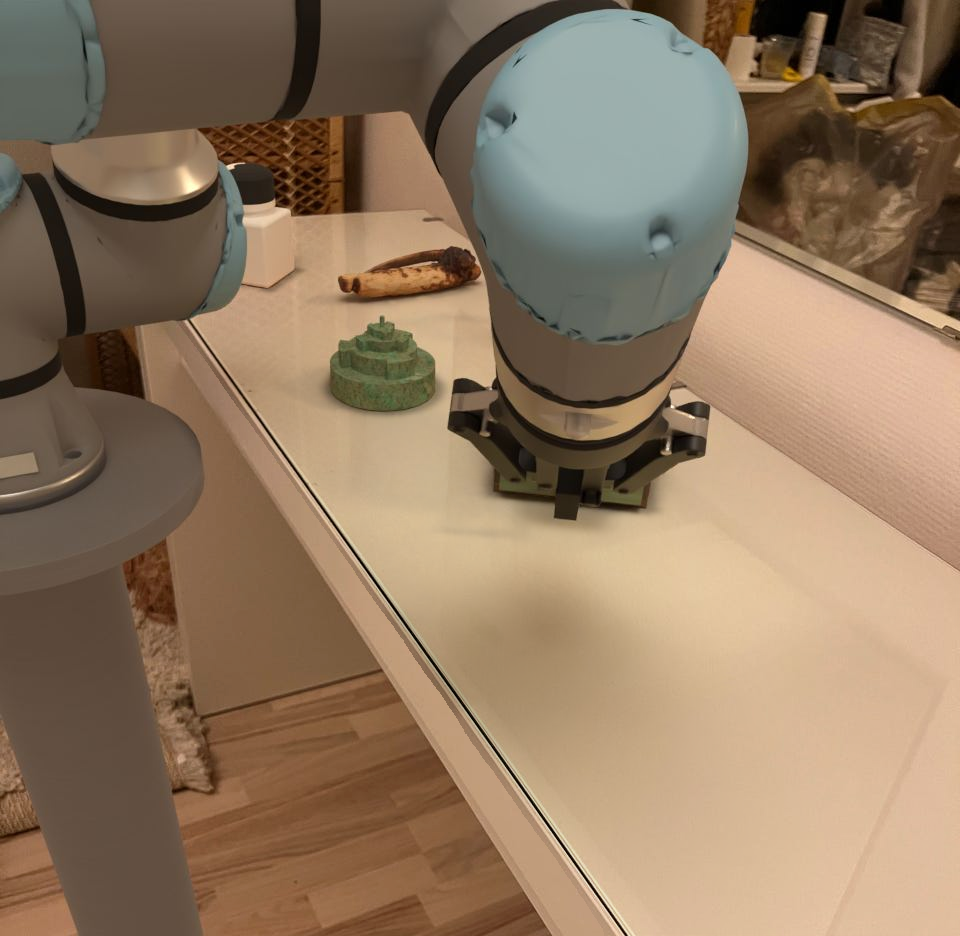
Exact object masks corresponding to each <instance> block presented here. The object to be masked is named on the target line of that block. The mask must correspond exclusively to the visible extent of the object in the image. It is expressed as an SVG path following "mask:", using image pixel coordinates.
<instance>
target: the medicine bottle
mask: <svg viewBox="0 0 960 936" xmlns="http://www.w3.org/2000/svg"><path fill="white" fill-rule="evenodd" d="M225 166H226V167H227V168H228V170H229V171H230V173H231V174H232V176H233V178H234V180H235V182H236V184H237V187H238V190H239V192H240V196H241V199H242V204H243V209H244V216H243V221H242V223H243V225H244V227H245V228H246V231H247V258H246V267H245V272H244V277H243V280H242V283H241V285H247V286H252V287H259V288H265V289H269V288H271V287H272V286H273V285H275V284H276V283H278V282H279V281H281V280H282V279H284V278H285V277H287V276H288V275H289V274H291V273H292V272H293V271H294V270H295V268H296V266H295V251H294V241H293V240H294V239H293V238H294V237H293V225H292V212H291V210H290V209H289V208H287V207H286V208H285V207H280V206H276V192H275V180H274V179H275V178H274V173H273V171H272V170H271V169H270V168H269V167H267V166H265V165H263V164H259V163H255V162H236V163H230V164H228V165H225Z"/></svg>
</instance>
